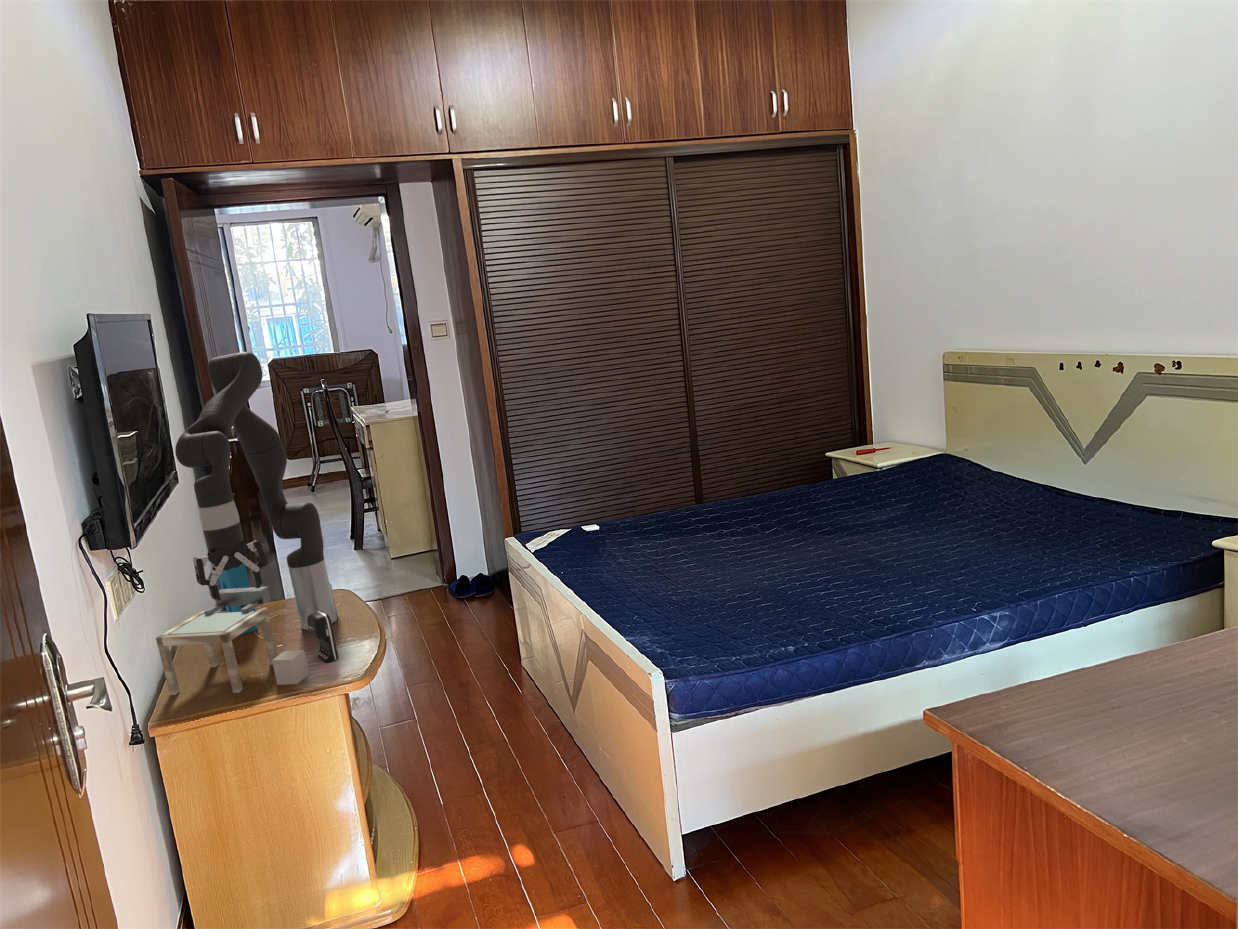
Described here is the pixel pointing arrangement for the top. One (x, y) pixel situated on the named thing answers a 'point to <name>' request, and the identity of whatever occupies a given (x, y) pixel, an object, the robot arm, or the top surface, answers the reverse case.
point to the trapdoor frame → (210, 640)
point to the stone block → (290, 667)
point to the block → (233, 580)
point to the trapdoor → (224, 621)
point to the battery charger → (323, 635)
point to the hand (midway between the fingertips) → (237, 594)
